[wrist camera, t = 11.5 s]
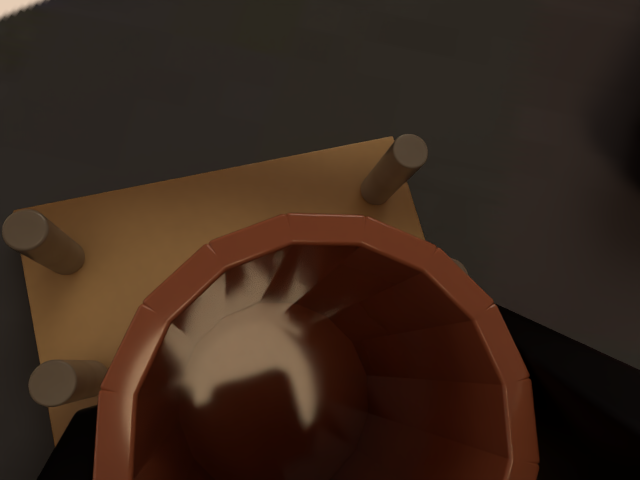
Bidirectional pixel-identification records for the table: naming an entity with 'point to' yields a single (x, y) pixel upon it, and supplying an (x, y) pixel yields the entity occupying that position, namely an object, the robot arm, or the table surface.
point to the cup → (317, 365)
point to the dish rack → (174, 246)
